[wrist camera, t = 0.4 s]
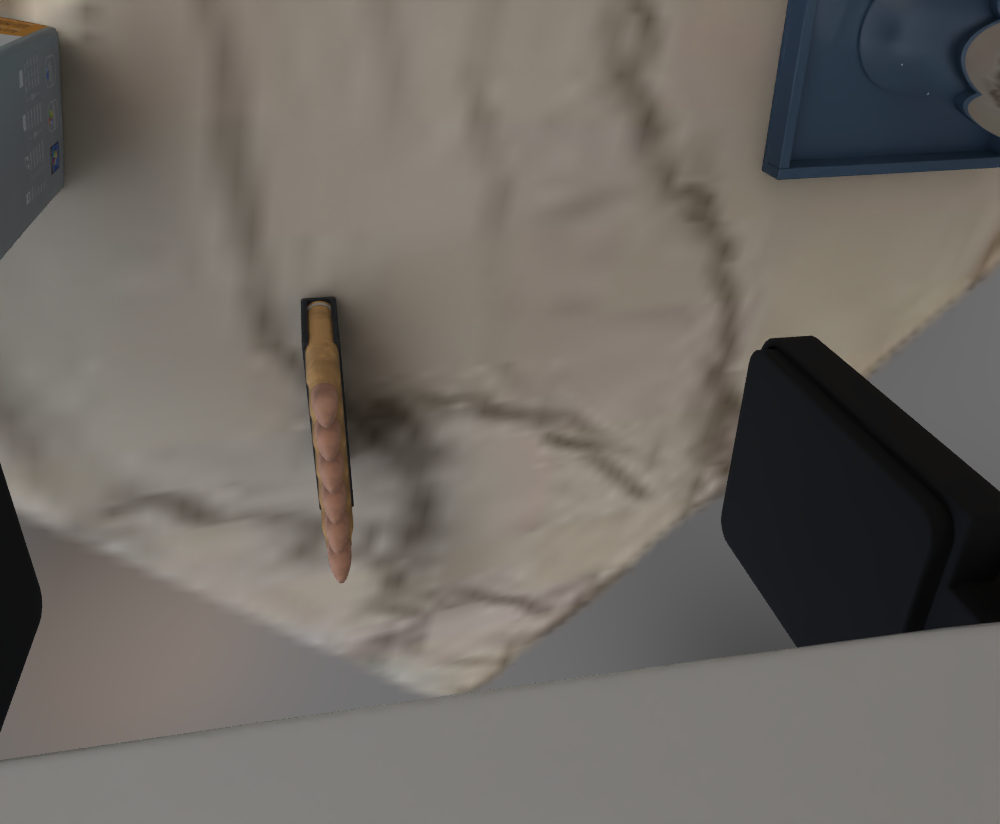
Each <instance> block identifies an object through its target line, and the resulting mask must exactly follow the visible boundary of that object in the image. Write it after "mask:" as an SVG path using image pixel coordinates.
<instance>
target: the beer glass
mask: <svg viewBox="0 0 1000 824" xmlns="http://www.w3.org/2000/svg"><path fill="white" fill-rule="evenodd" d="M859 53H860V59H861V63H862V66H863V68H864V71H865V72H866V74H867V76H868V77H869V78H870V79H871V80H872V81H873V82H874V83H875V84H876V85H878V86H879V87H881V88H883V89H885V90H888V91H894V92H922V93H926V94H927V95H928V94H929V95H931V96H933V97H935V98H937V99H939V100H940V101H942V102H943V103H945V104H946V105H947V106H949V107H950V108H952V109H953V110H954V111H956V112H957V113H959V114H960V115H962V116H963V117H964V118H966V119H967V120H969V121H970V122H972V123H973V124H975V125H977V126H978V127H980V128H982V129H984V130H985V131H987V132H989V133H991V134H992V135H994V136H996V137H999V138H1000V0H874V1H873V2H872V4H871V6H870V7H869V9H868V11H867V14H866V16H865V18H864V21H863V24H862V28H861V32H860V39H859Z"/></svg>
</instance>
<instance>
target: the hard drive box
mask: <svg viewBox="0 0 1000 824" xmlns="http://www.w3.org/2000/svg"><path fill="white" fill-rule="evenodd" d="M63 187H64V161H63V126H62V108H61V79H60V58H59V41H58V32H57V31H56V29H55V28H52V27H49V26H44V25H39V24H34V23H29V22H24V21H18V20H13V19H8V18H2V17H0V260H1V259H2V258H3V256H4V255H5V254H6V252H7V251H8V250H9V249H10V248H11V247H12V245H13V244H14V243H15V242H16V240H17V239H18V238H20V236H21V235H22V233H23V232H24V231H25V230H26V229H27V228H28V227H29V225H30V224H31V223H32V222H33V221H34V220H35V219H36V217H37V216H38V215H39V214H40V213H41V212H42V211H43V210H44V208H45V207H46V206H47V205H48V204H49V203H50V202H51V201H52V199H53V198H54V197H55V196H56V195H57V194H58V193H59V192H60V190H61V189H62V188H63Z"/></svg>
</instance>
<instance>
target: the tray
mask: <svg viewBox="0 0 1000 824" xmlns="http://www.w3.org/2000/svg"><path fill="white" fill-rule="evenodd" d="M873 1H874V0H788V6H787V13H786V19H785V25H784V32H783V38H782V45H781V51H780V57H779V64H778V70H777V77H776V83H775V90H774V96H773V102H772V109H771V115H770V122H769V128H768V134H767V141H766V147H765V154H764V160H763V167H762V171H763V172H766V173H767V174H769V175H771V176H772V177H774V178H776V179H777V180H783V179H800V178H818V177H836V176H854V175H871V174H889V173H907V172H925V171H943V170H960V169H978V168H996V167H1000V138H999V137H996V136H994V135H992V134H991V133H989V132H987V131H985V130H984V129H982V128H980V127H978V126H977V125H975V124H973V123H972V122H970V121H969V120H967V119H966V118H964V117H963V116H962V115H960V114H959V113H957V112H956V111H954V110H953V109H952V108H950V107H949V106H947V105H946V104H945V103H943V102H942V101H940V100H939V99H937V98H935V97H933V96H931V95H929V94H928V95H927V94H926V93H922V92H894V91H888V90H885V89H883V88H881V87H879V86H878V85H876V84H875V83H874V82H873V81H872V80H871V79H870V78H869V77H868V76H867V74H866V72H865V71H864V68H863V66H862V63H861V59H860V53H859V39H860V32H861V28H862V24H863V21H864V18H865V16H866V14H867V11H868V9H869V7H870V6H871V4H872V2H873Z"/></svg>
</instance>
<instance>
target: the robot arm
mask: <svg viewBox="0 0 1000 824" xmlns="http://www.w3.org/2000/svg"><path fill="white" fill-rule="evenodd" d="M721 524H722V531H723V534H724V537H725V540H726V541H727V543H728V545H729V546H730V548H731V549H732V551H733V552H734V554H735V555H736V557H737V558H738V560H739V561H740V563H741V564H742V566H743V567H744V569H745V570H746V572H747V573H748V575H749V576H750V578H751V579H752V581H753V582H754V584H755V585H756V587H757V588H758V590H759V591H760V593H761V594H762V596H763V597H764V599H765V600H766V602H767V603H768V605H769V606H770V607H771V609H772V611H773V612H774V614H775V615H776V616H777V618H778V620H779V621H780V622H781V624H782V626H783V627H784V628H785V630H786V632H787V633H788V634H789V636H790V638H791V639H792V640H793V642H794V643H795V645H796V646H797V648H789V649H782V650H774V651H767V652H759V653H752V654H744V655H737V656H730V657H722V658H715V659H708V660H701V661H693V662H686V663H679V664H672V665H665V666H657V667H650V668H643V669H636V670H628V671H621V672H614V673H606V674H599V675H592V676H585V677H578V678H570V679H563V680H557V681H549V682H542V683H534V684H528V685H521V686H514V687H506V688H499V689H492V690H485V691H478V692H470V693H463V694H456V695H449V696H442V697H435V698H428V699H421V700H414V701H407V702H400V703H394V704H386V705H380V706H372V707H365V708H358V709H351V710H345V711H337V712H331V713H323V714H316V715H309V716H302V717H295V718H288V719H281V720H274V721H266V722H260V723H253V724H245V725H239V726H232V727H226V728H218V729H212V730H205V731H198V732H191V733H184V734H177V735H171V736H163V737H156V738H150V739H143V740H137V741H129V742H122V743H116V744H108V745H102V746H94V747H88V748H81V749H74V750H67V751H60V752H53V753H46V754H40V755H33V756H26V757H19V758H13V759H5V760H0V824H1000V491H998V490H997V489H996V488H995V487H994V486H992V485H991V484H990V483H989V482H988V481H987V480H985V479H984V478H983V477H982V476H980V475H979V474H978V473H977V472H976V471H974V470H973V469H972V468H971V467H970V466H969V465H967V464H966V463H965V462H964V461H963V460H962V459H960V458H959V457H958V456H957V455H956V454H954V453H953V452H952V451H951V450H950V449H948V448H947V447H946V446H945V445H944V444H942V443H941V442H940V441H939V440H938V439H937V438H935V437H934V436H933V435H932V434H931V433H929V432H928V431H927V430H926V429H925V428H923V427H922V426H921V425H920V424H919V423H917V422H916V421H915V420H914V419H913V418H911V417H910V416H909V415H908V414H907V413H906V412H904V411H903V410H902V409H900V407H898V406H897V405H896V404H895V403H894V402H892V401H891V400H890V399H889V398H888V397H886V396H885V395H884V394H883V393H882V392H880V391H879V390H878V389H877V388H875V386H873V385H872V384H871V383H870V382H869V381H867V380H866V379H865V378H864V377H863V376H861V375H860V374H859V373H858V372H857V371H856V370H854V369H853V368H852V367H851V366H850V365H848V364H847V363H846V362H845V361H844V360H842V359H841V358H840V357H839V356H838V355H836V354H835V353H834V352H833V351H832V350H830V349H829V348H828V347H827V346H826V345H825V344H823V343H822V342H821V341H820V340H819V339H817V338H816V337H814V336H800V337H786V338H772V339H769V340H767V341H766V342H765V344H764V345H763V347H762V349H761V350H756V351H755V352H754V353H753V354H752V356H751V358H750V362H749V366H748V372H747V377H746V383H745V388H744V394H743V399H742V405H741V410H740V416H739V421H738V427H737V432H736V437H735V443H734V448H733V454H732V459H731V465H730V470H729V476H728V481H727V487H726V492H725V498H724V504H723V509H722V516H721ZM41 613H42V596H41V591H40V587H39V583H38V580H37V577H36V574H35V571H34V568H33V565H32V562H31V558H30V555H29V552H28V549H27V546H26V543H25V540H24V536H23V533H22V530H21V527H20V524H19V521H18V517H17V514H16V511H15V508H14V505H13V502H12V499H11V495H10V492H9V489H8V486H7V483H6V480H5V477H4V473H3V470H2V467H1V464H0V731H1V729H2V726H3V723H4V720H5V717H6V715H7V712H8V709H9V706H10V703H11V701H12V698H13V695H14V692H15V690H16V687H17V684H18V681H19V678H20V676H21V673H22V670H23V667H24V664H25V662H26V659H27V656H28V653H29V651H30V648H31V645H32V642H33V639H34V636H35V634H36V631H37V628H38V625H39V623H40V619H41Z"/></svg>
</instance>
